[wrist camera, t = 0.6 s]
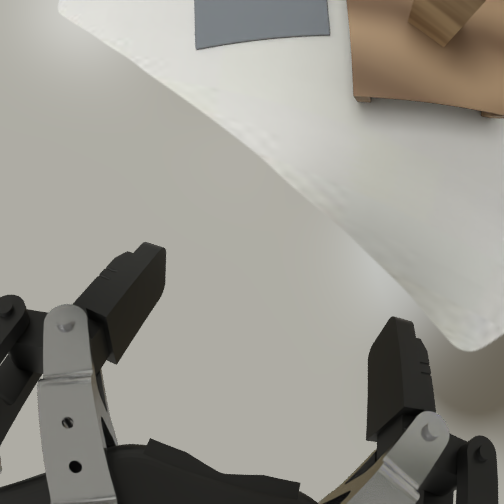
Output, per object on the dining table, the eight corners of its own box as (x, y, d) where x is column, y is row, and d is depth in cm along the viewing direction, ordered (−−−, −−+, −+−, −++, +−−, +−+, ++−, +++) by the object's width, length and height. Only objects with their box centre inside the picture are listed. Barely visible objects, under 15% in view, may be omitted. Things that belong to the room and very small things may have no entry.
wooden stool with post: (347, -23, 21) (302, -143, 5) (478, -8, 17) (546, -99, 1) (357, 101, 26) (333, 70, 11) (491, 118, 22) (609, 127, 6)
